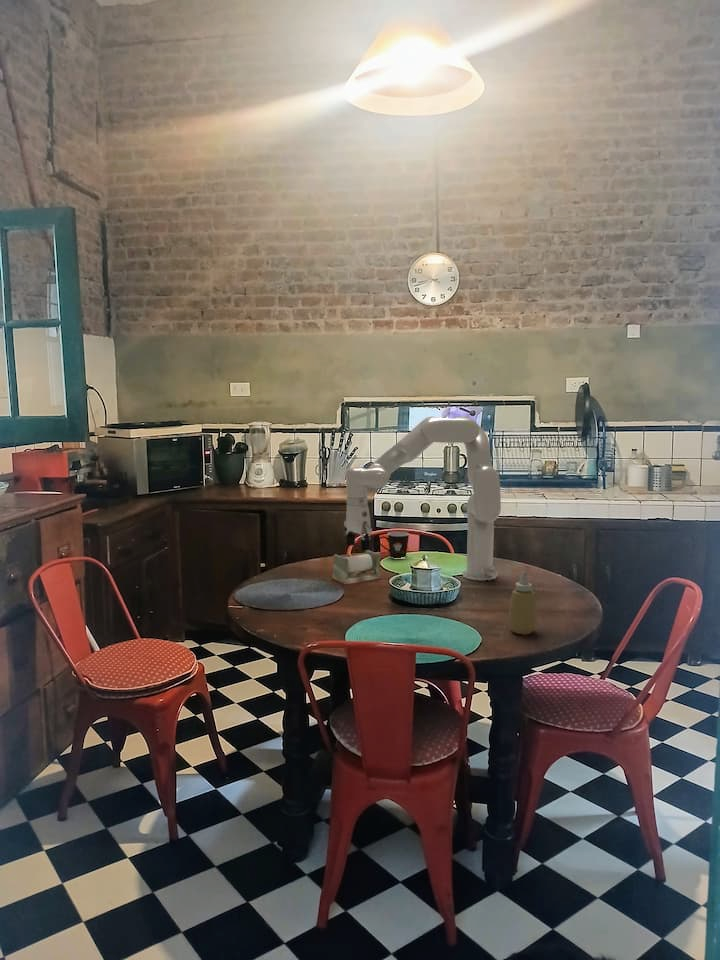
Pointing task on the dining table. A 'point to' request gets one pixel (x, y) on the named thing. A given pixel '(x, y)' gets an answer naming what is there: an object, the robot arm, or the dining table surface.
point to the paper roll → (359, 563)
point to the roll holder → (348, 578)
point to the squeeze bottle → (523, 607)
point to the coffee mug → (397, 544)
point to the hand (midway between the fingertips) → (358, 547)
